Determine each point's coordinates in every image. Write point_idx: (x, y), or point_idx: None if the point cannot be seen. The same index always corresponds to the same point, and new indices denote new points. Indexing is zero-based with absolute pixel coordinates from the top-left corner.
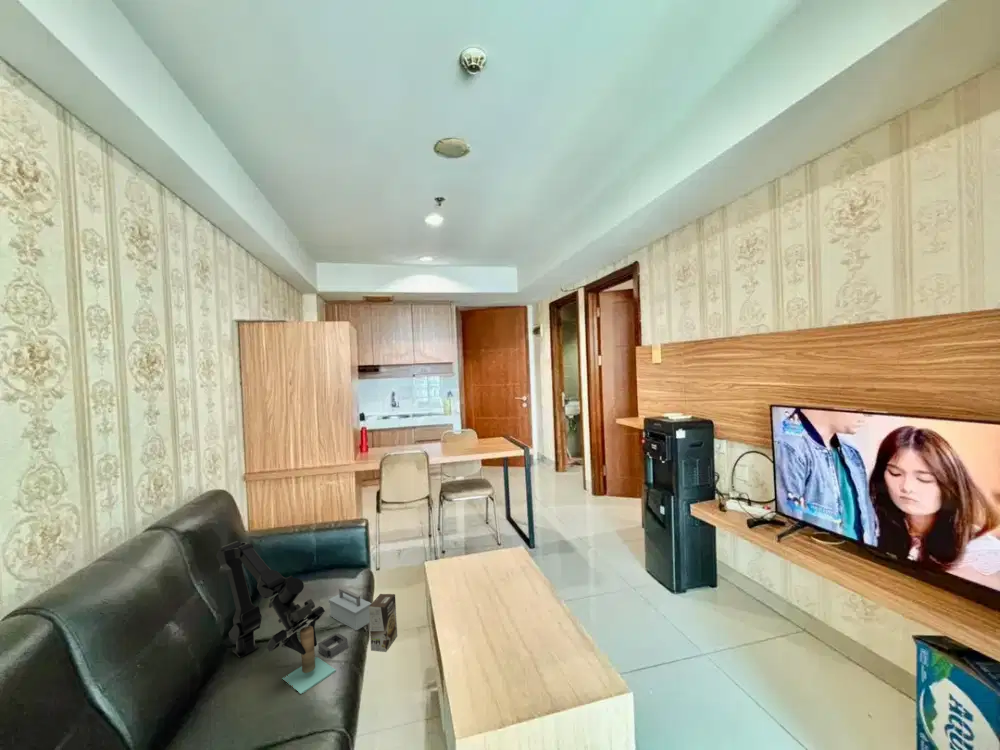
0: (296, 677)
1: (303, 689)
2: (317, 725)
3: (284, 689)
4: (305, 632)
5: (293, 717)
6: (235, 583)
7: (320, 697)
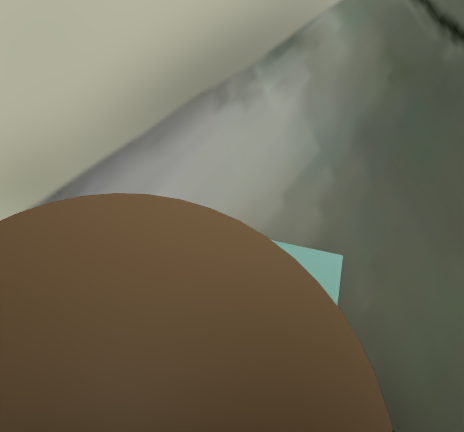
0: None
1: (313, 269)
2: (416, 35)
3: None
4: (289, 321)
5: (451, 167)
6: None
7: (300, 139)
